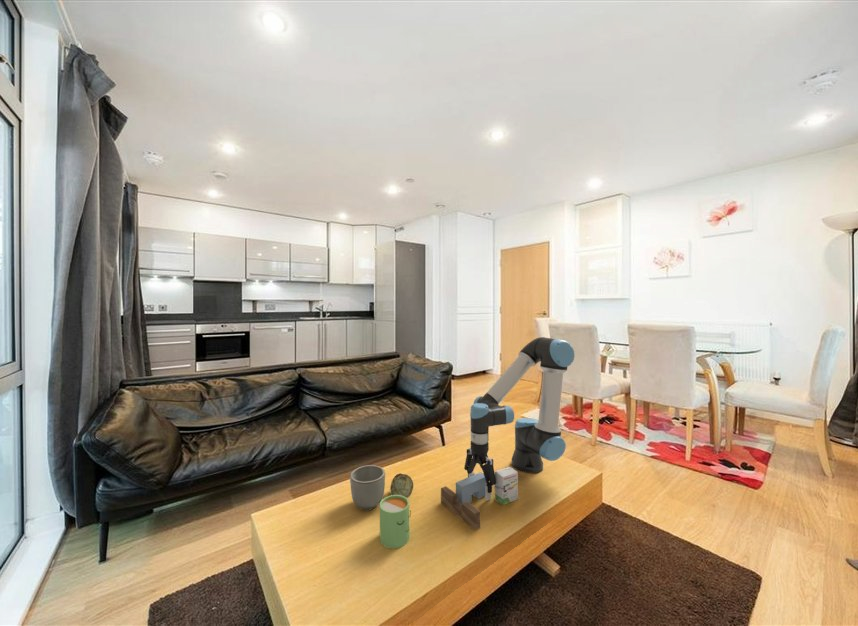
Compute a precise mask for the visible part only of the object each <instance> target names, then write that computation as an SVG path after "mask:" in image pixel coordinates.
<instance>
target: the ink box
mask: <svg viewBox="0 0 858 626" xmlns="http://www.w3.org/2000/svg"><path fill="white" fill-rule="evenodd" d="M494 472H495V478H496V484H495V485H494V500H495V501H496V502H498V503H499V504H500V505H502V506H504V505H507V504H510V503H512V502H514V501H517V500H519V495H518V493H519V491H518V490H519V486H518V485H519V472H518V470H516V469H515V468H514V467H512V466H507V467H504V468H501V469H497V470H496V471H494Z"/></svg>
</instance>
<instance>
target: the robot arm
mask: <svg viewBox="0 0 858 626" xmlns="http://www.w3.org/2000/svg"><path fill="white" fill-rule="evenodd" d="M574 361H575V350H574V348H573V346H572V345H571V343H570V342H569V341H567V340H563V339H561V338H560V339H559V338H551V337H545V336H544V337H542V336H541V337H537V338H535V339H532V340H531V341H530V342H528V343H527V344H526V345H525V346H524V347H523V348H522V349H520V351H519V352H518V357H517V358H516V359H515V360H514V361H513V362H512V363H511V364H510V365H509V367H508V368H507V369H506V370H505V371H504V372H503V373H502V375H500V377H499V378H498V379H497V380H496V381H495V383H493V385H492V386H491V387H490V388H489V389H488V390H487V391H486V393H485V394H484V395H483V396H481V395H480V396H478V397H476V398H475V399H474V401H473V404H472V405H470V412H469V413H470V414H469V417H470V447H469V448H467V449H466V456H465V457H466V458H465V462H464V468H463V469H464V471H466V472H467V478H468V477H470V476H472V475H475V472H474V471H475V468H476V465H477V464H478V465H479V467H480V469H482V472H483V474H484V477H485V480H486V483H487V484H485V496H484V500H485V501H486V502H487V501H490V500H491V499H492V493H493V486H495V484H496V478H495V472H496V471H495V467H494V459H493V458H489V456H488V452H489V447H490V446H489V445H490V444H489V440H490V439H489V438H490V437H489V431H490V430H489V428H490V427H493V426H501V425H507V424H512V423H513V422H514V420H515V412H514V409H513V407H512V406H510V405H500V404H501V403H502V401H503V400H504V399H505V397H506V396H507V395H508V394H509V393H510V391H512V389H513V388H514V387H515V386H516V385H517V384H518V382H519V381H521V379H522V378H523V377H524V376H525V374H526V373H527V372H528V371H529V370H530V369H531V367H535V366H536V365H537V364H538V363H540V366H539V367H540V368H541V369H542V381H541V392H540V401H539V410H538V411H539V412H538V419H537V418H534V417H533V418H531V417H530V418H529V417H524V418H523V417H522V418H518V419H516V420H515V424H514V451H513V453H512V457H511V467H512V468H513V469H514V470H516V471H519V472H523V473H527V474H536V473H540V472H542V471H543V470H544V461H543V460H542V458H543V459H545V460H547V461H549V462H554V461H556V460H557V461H558V460H559V459H560V458H561V457H563V455H564V454H565V451H566V447H567V445H566V441H565V440H564V438H563V437H562V429H561V427H560V426H559V421H560V419H559V418H560V411H561V400H562V390H563V389H562V388H563V379H564V373H566V372H567V371H568V367H569V366H571V365H572V363H573V362H574Z"/></svg>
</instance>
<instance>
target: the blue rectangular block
mask: <svg viewBox="0 0 858 626" xmlns="http://www.w3.org/2000/svg"><path fill="white" fill-rule="evenodd" d="M485 484H487V483H486V480H485V477H484V474H483V473H482V472H480V471H479V472H478V473H474V475H472V476H470V477H468V476H467V477H466V478H463V479H461V480H459V481H456V482H455V493H456V494H457V502H458V503H459V504H461V505H462V503H464V502H466V501H467V502H468V503H470V504H471V503H472V500H473V499H472V496H474V497H475V498H477V499H482V498H485Z"/></svg>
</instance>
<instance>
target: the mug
mask: <svg viewBox="0 0 858 626" xmlns="http://www.w3.org/2000/svg"><path fill="white" fill-rule="evenodd" d="M411 511H412V510H410V500H409V499H408V498H406V497H404V496H401V495H392V494H391V495H388V496H386V497H383V498H382V500H381V502H380V503H379V541H380V543H381V545H382V546H383V547H385V548H388V549H400V548H401V547H403V546H405V545H406V544H407V543H408V542H409V540H410V517H411V513H412V512H411Z"/></svg>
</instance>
